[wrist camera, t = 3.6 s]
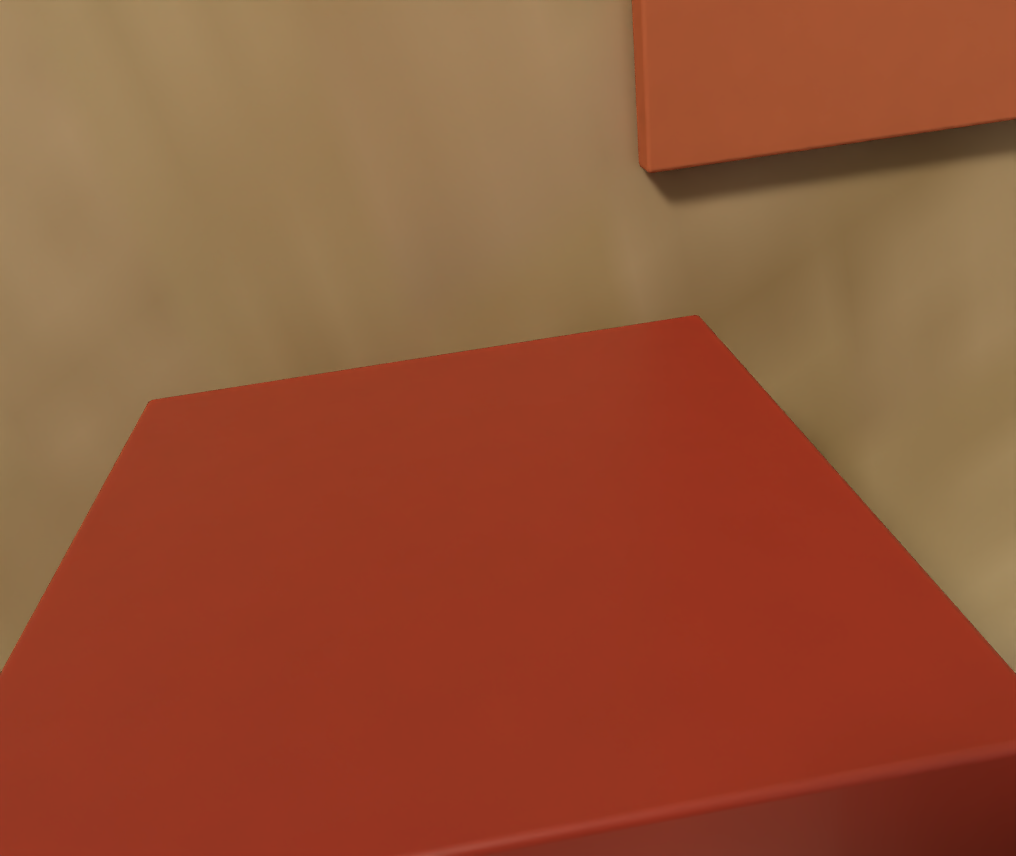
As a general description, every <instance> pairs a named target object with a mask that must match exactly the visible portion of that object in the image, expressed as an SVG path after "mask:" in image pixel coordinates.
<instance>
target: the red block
mask: <svg viewBox="0 0 1016 856" xmlns="http://www.w3.org/2000/svg"><path fill="white" fill-rule="evenodd" d="M0 856H1016V673H1015V672H1014V671H1013V670H1012V669H1011V668H1010V667H1009V666H1008V664H1007V663H1006V662H1005V661H1004V660H1003V659H1002V658H1001V656H1000V655H999V654H998V653H997V652H996V651H995V650H994V649H993V647H992V646H991V645H990V644H989V643H988V642H987V641H986V640H985V638H984V637H983V636H982V635H981V634H980V633H979V632H978V630H977V629H976V628H975V627H974V626H973V625H972V624H971V623H970V621H969V620H968V619H967V618H966V617H965V616H964V615H963V614H962V612H961V611H960V610H959V609H958V608H957V607H956V606H955V605H954V603H953V602H952V601H951V600H950V599H949V598H948V597H947V595H946V594H945V593H944V592H943V591H942V590H941V589H940V588H939V586H938V585H937V584H936V583H935V582H934V581H933V580H932V579H931V577H930V576H929V575H928V574H927V573H926V572H925V571H924V569H923V568H922V567H921V566H920V565H919V564H918V563H917V562H916V560H915V559H914V558H913V557H912V556H911V555H910V554H909V553H908V551H907V550H906V549H905V548H904V547H903V546H902V545H901V544H900V542H899V541H898V540H897V539H896V538H895V537H894V536H893V534H892V533H891V532H890V531H889V530H888V529H887V528H886V527H885V525H884V524H883V523H882V522H881V521H880V520H879V519H878V518H877V516H876V515H875V514H874V513H873V512H872V511H871V510H870V508H869V507H868V506H867V505H866V504H865V503H864V502H863V501H862V499H861V498H860V497H859V496H858V495H857V494H856V493H855V492H854V490H853V489H852V488H851V487H850V486H849V485H848V484H847V483H846V481H845V480H844V479H843V478H842V477H841V476H840V475H839V473H838V472H837V471H836V470H835V469H834V468H833V467H832V466H831V464H830V463H829V462H828V461H827V460H826V459H825V458H824V457H823V455H822V454H821V453H820V452H819V451H818V450H817V449H816V447H815V446H814V445H813V444H812V443H811V442H810V441H809V440H808V438H807V437H806V436H805V435H804V434H803V433H802V432H801V431H800V429H799V428H798V427H797V426H796V425H795V424H794V423H793V422H792V420H791V419H790V418H789V417H788V416H787V415H786V414H785V412H784V411H783V410H782V409H781V408H780V407H779V406H778V405H777V403H776V402H775V401H774V400H773V399H772V398H771V397H770V396H769V394H768V393H767V392H766V391H765V390H764V389H763V388H762V386H761V385H760V384H759V383H758V382H757V381H756V380H755V379H754V377H753V376H752V375H751V374H750V373H749V372H748V371H747V370H746V368H745V367H744V366H743V365H742V364H741V363H740V362H739V361H738V359H737V358H736V357H735V356H734V355H733V354H732V353H731V351H730V350H729V349H728V348H727V347H726V346H725V345H724V344H723V342H722V341H721V340H720V339H719V338H718V337H717V336H716V335H715V333H714V332H713V331H712V330H711V329H710V328H709V327H708V325H707V324H706V323H705V322H704V321H703V320H702V319H701V318H700V316H697V315H693V316H686V317H680V318H674V319H667V320H661V321H654V322H648V323H642V324H635V325H629V326H622V327H616V328H610V329H603V330H597V331H590V332H584V333H578V334H571V335H565V336H558V337H552V338H546V339H539V340H533V341H526V342H520V343H514V344H507V345H501V346H494V347H488V348H482V349H475V350H469V351H462V352H456V353H450V354H443V355H437V356H430V357H424V358H418V359H411V360H405V361H398V362H392V363H386V364H379V365H373V366H366V367H360V368H354V369H347V370H341V371H334V372H328V373H322V374H315V375H309V376H302V377H296V378H290V379H283V380H277V381H270V382H264V383H258V384H251V385H245V386H238V387H232V388H226V389H219V390H213V391H206V392H200V393H194V394H187V395H181V396H174V397H168V398H162V399H155V400H151V401H150V402H148V404H147V406H146V408H145V409H144V411H143V413H142V415H141V417H140V419H139V420H138V422H137V424H136V426H135V428H134V430H133V431H132V433H131V435H130V437H129V439H128V441H127V442H126V444H125V446H124V448H123V450H122V452H121V453H120V455H119V457H118V459H117V461H116V463H115V464H114V466H113V468H112V470H111V472H110V474H109V475H108V477H107V479H106V481H105V483H104V485H103V486H102V488H101V490H100V492H99V494H98V496H97V497H96V499H95V501H94V503H93V505H92V507H91V508H90V510H89V512H88V514H87V516H86V518H85V519H84V521H83V523H82V525H81V527H80V529H79V530H78V532H77V534H76V536H75V538H74V540H73V541H72V543H71V545H70V547H69V549H68V550H67V552H66V554H65V556H64V558H63V560H62V561H61V563H60V565H59V567H58V569H57V571H56V572H55V574H54V576H53V578H52V580H51V582H50V583H49V585H48V587H47V589H46V591H45V593H44V594H43V596H42V598H41V600H40V602H39V604H38V605H37V607H36V609H35V611H34V613H33V615H32V616H31V618H30V620H29V622H28V624H27V626H26V627H25V629H24V631H23V633H22V635H21V637H20V638H19V640H18V642H17V644H16V646H15V648H14V649H13V651H12V653H11V655H10V657H9V659H8V660H7V662H6V664H5V666H4V668H3V670H2V671H1V673H0Z"/></svg>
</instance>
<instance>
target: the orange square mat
mask: <svg viewBox="0 0 1016 856" xmlns="http://www.w3.org/2000/svg"><path fill="white" fill-rule="evenodd" d="M632 13H633V37H634V60H635V83H636V106H637V129H638V153H639V164H640V166H641V167H642V168H643V169H645V170H646V171H647V172H649V173H655V172H661V171H668V170H675V169H682V168H689V167H695V166H702V165H709V164H716V163H722V162H729V161H736V160H743V159H750V158H756V157H763V156H770V155H777V154H783V153H790V152H797V151H804V150H810V149H817V148H824V147H831V146H838V145H844V144H851V143H858V142H865V141H871V140H878V139H885V138H892V137H899V136H905V135H912V134H919V133H926V132H932V131H939V130H946V129H953V128H960V127H966V126H973V125H980V124H987V123H993V122H1000V121H1007V120H1014V119H1016V0H632Z"/></svg>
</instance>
